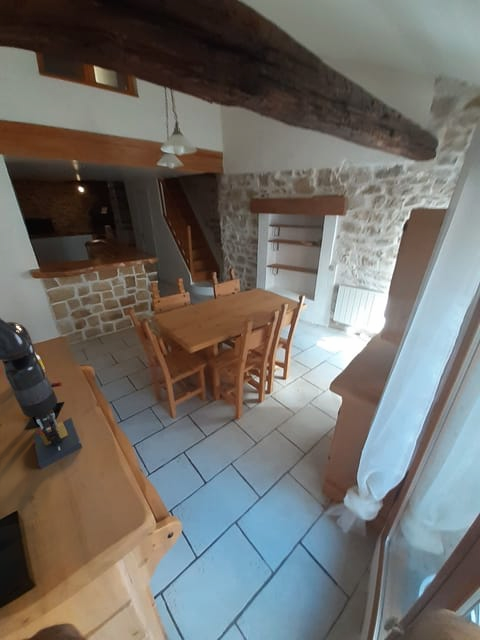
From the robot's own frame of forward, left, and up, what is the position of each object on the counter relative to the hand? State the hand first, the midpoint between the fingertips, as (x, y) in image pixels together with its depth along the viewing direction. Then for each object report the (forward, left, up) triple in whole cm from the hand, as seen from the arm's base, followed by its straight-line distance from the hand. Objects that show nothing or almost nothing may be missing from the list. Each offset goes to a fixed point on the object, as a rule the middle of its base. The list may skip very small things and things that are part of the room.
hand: (55, 437), depth 74 cm
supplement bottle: (-21, +40, -4) cm, 45 cm away
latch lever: (-8, +17, +3) cm, 19 cm away
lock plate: (0, 0, -3) cm, 3 cm away
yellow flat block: (0, 0, 0) cm, 0 cm away
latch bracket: (-8, +13, -3) cm, 16 cm away
